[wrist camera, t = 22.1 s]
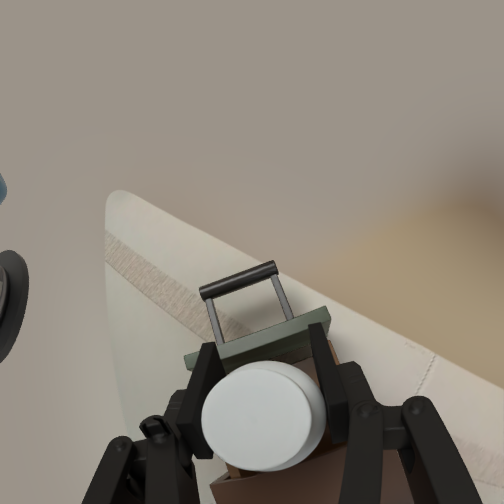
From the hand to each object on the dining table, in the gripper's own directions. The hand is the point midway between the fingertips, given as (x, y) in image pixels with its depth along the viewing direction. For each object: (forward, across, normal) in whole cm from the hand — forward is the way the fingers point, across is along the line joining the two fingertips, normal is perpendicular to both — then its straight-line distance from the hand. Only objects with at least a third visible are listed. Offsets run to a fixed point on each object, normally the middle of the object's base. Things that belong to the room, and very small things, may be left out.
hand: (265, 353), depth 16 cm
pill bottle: (0, 0, -5) cm, 5 cm away
